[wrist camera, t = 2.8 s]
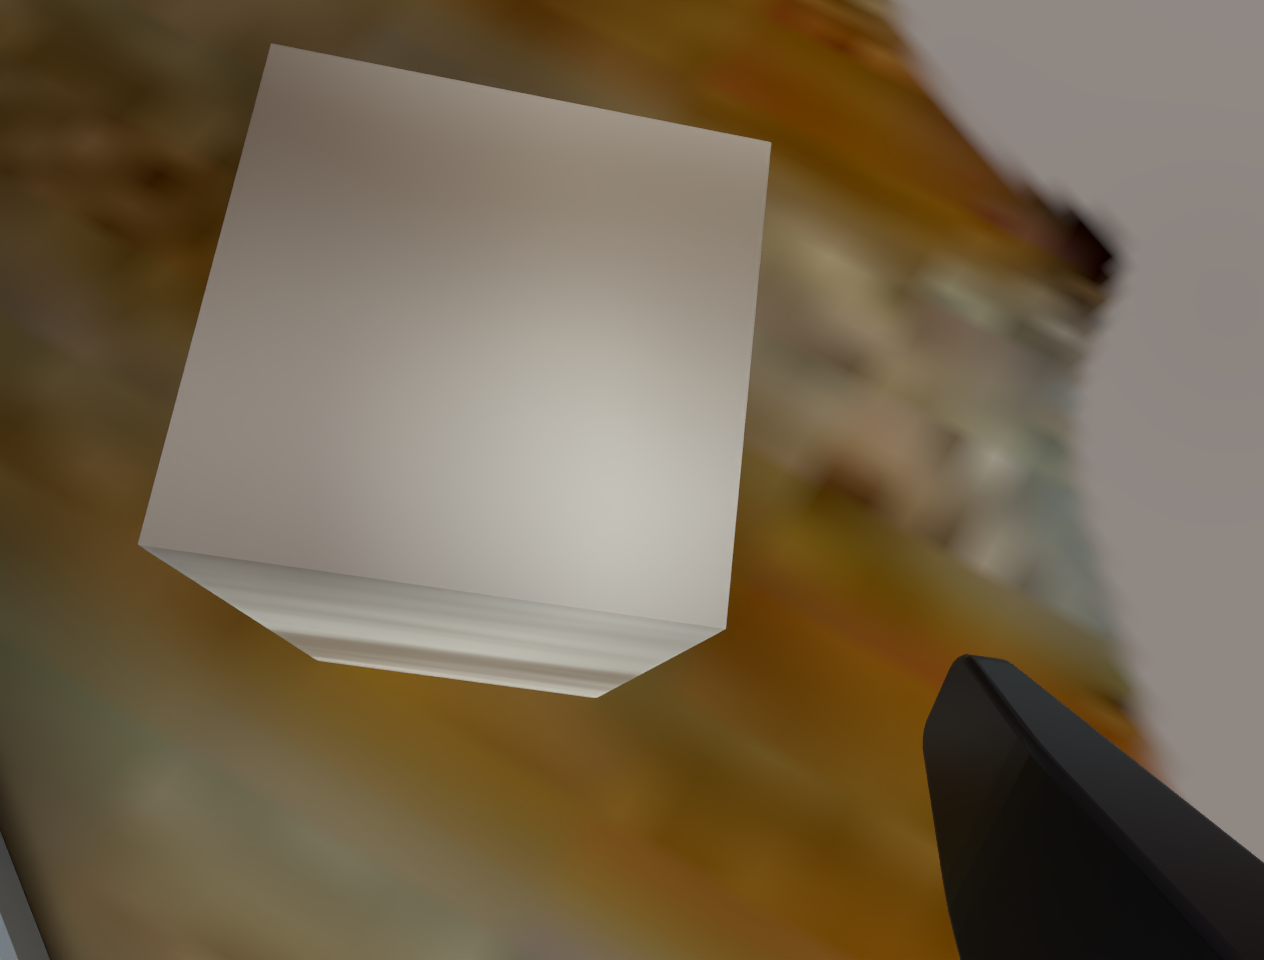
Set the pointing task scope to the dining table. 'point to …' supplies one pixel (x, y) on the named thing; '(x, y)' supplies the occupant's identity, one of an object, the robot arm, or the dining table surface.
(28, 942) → the slate board
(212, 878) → the dining table surface
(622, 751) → the dining table surface
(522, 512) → the cream block
